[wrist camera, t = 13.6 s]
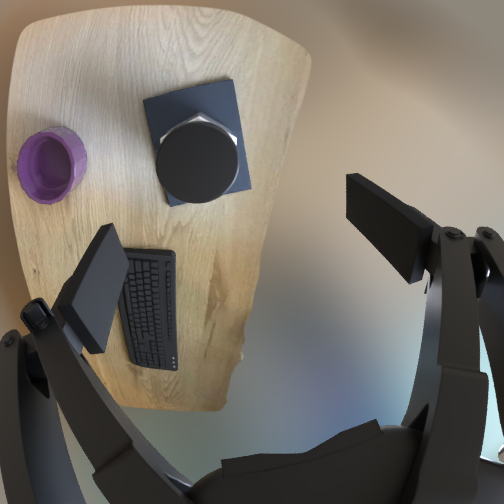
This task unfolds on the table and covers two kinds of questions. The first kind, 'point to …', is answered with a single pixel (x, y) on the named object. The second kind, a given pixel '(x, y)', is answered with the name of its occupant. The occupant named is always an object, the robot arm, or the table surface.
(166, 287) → the keyboard
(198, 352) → the table surface
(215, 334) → the table surface
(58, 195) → the bowl
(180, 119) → the placemat
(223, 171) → the jar
